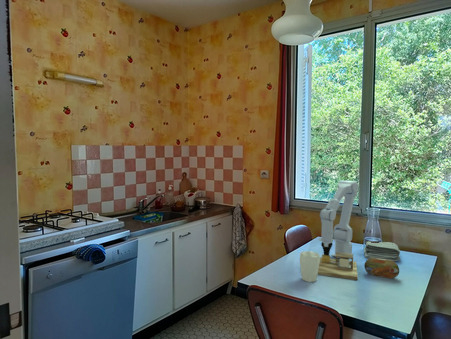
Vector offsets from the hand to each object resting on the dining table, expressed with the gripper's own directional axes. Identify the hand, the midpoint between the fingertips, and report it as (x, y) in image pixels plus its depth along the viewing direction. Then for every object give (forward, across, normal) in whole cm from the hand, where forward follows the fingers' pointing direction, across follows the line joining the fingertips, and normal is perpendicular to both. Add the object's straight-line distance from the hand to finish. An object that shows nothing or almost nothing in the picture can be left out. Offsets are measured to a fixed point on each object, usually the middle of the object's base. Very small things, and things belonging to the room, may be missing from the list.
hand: (326, 256), depth 166 cm
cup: (+4, +26, -6) cm, 27 cm away
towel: (+4, -25, +29) cm, 38 cm away
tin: (+4, +8, +26) cm, 28 cm away
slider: (+2, +6, +5) cm, 8 cm away
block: (+1, +6, +9) cm, 11 cm away
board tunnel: (+4, +8, +5) cm, 10 cm away
